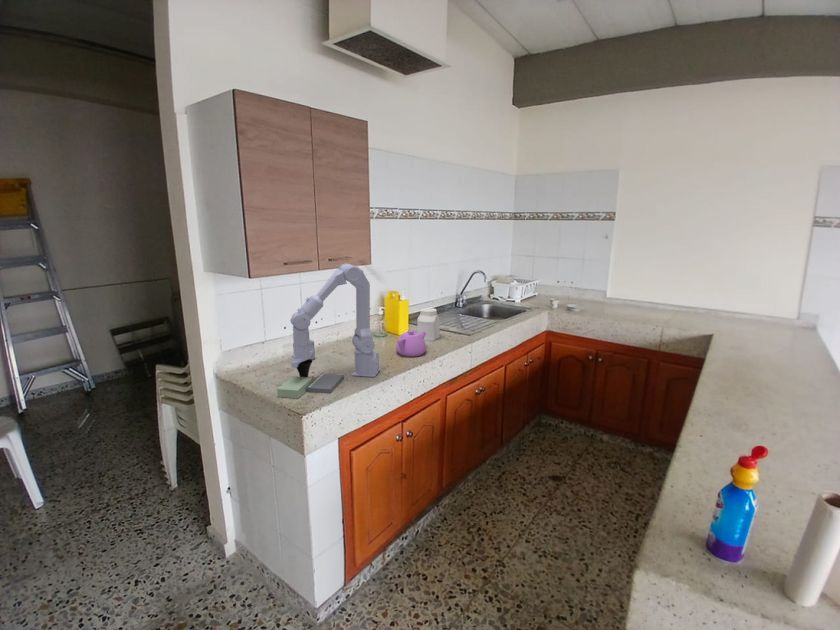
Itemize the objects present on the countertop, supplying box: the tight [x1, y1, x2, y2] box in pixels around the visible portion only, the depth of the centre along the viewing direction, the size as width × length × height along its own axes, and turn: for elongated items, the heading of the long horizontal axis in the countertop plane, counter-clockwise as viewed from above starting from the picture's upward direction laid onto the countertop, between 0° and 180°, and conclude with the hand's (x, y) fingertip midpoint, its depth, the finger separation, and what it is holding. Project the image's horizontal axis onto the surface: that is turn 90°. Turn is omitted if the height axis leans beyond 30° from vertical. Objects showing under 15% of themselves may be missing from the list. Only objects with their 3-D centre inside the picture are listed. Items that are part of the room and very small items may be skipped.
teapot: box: [395, 329, 427, 358], centre depth 193 cm, size 14×20×11 cm
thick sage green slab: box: [276, 375, 314, 399], centre depth 151 cm, size 8×12×3 cm, turn 170°
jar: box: [416, 307, 441, 342], centre depth 214 cm, size 12×10×15 cm
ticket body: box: [306, 373, 345, 394], centre depth 156 cm, size 9×14×2 cm, turn 170°
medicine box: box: [292, 339, 316, 361], centre depth 182 cm, size 8×4×9 cm, turn 141°
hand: (304, 379), depth 158 cm, fingers closed
